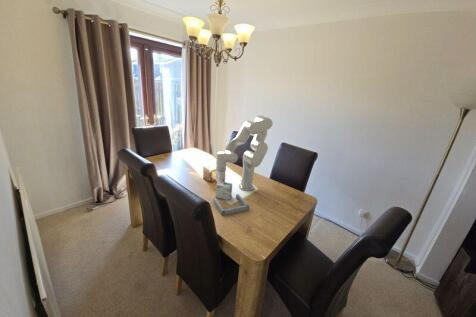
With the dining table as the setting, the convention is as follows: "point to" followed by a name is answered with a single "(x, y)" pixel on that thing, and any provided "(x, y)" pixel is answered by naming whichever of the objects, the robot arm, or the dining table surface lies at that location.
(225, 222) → the dining table surface
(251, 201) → the dining table surface
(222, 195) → the light bulb box
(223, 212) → the dock
